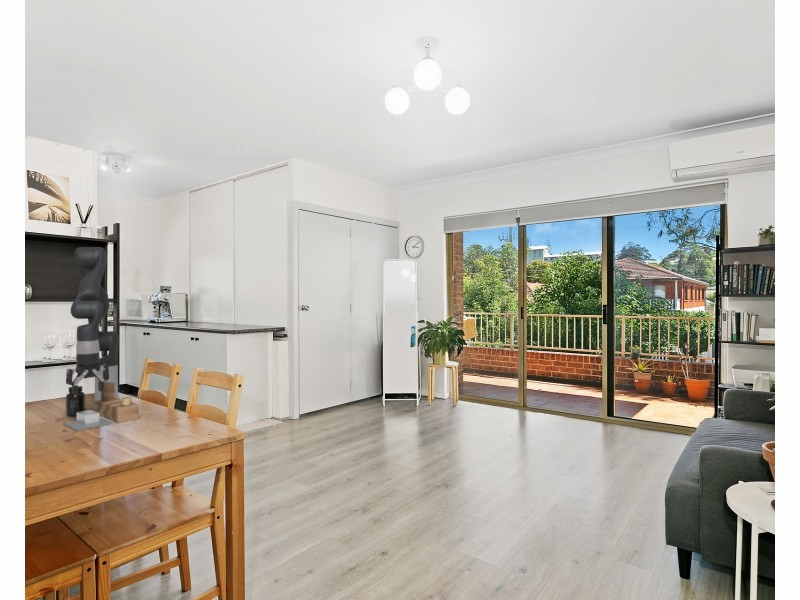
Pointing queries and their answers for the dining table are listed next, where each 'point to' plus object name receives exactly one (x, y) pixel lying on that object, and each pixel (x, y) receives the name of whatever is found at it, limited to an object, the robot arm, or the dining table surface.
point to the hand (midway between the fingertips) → (88, 393)
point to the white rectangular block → (87, 417)
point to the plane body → (116, 406)
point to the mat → (80, 427)
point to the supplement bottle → (75, 402)
